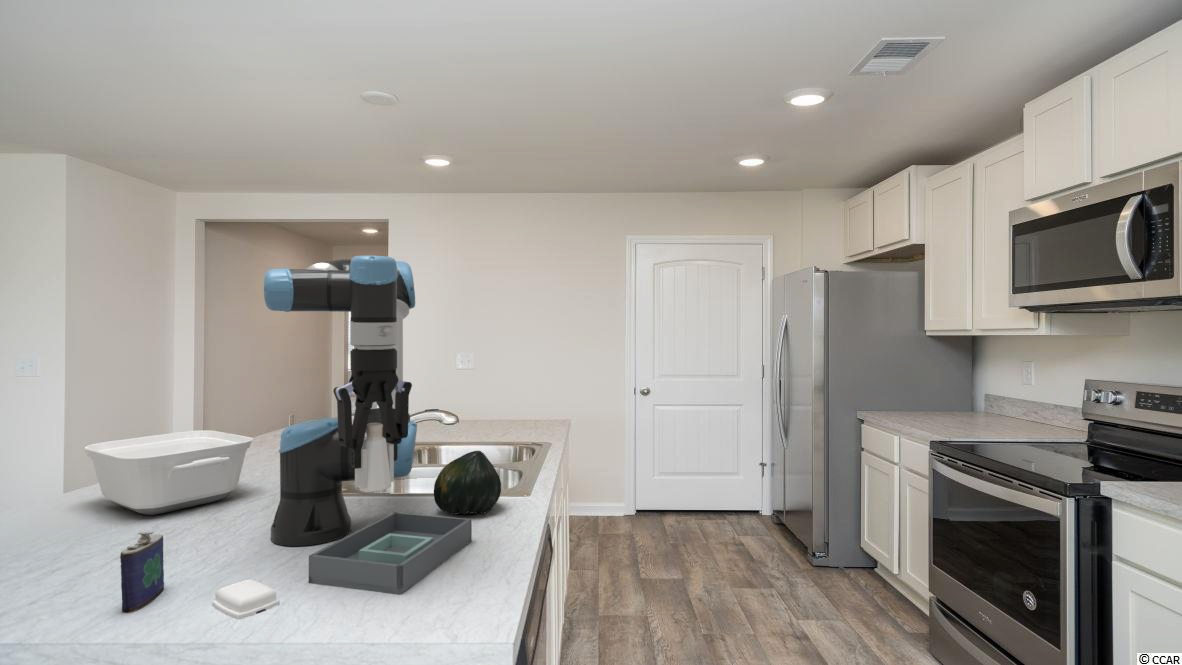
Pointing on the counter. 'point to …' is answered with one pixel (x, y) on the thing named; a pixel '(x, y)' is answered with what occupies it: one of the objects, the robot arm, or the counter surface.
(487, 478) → the squash
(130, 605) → the flask
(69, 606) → the counter surface
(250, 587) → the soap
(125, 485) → the white plastic tub
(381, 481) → the salt shaker
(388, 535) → the bin
